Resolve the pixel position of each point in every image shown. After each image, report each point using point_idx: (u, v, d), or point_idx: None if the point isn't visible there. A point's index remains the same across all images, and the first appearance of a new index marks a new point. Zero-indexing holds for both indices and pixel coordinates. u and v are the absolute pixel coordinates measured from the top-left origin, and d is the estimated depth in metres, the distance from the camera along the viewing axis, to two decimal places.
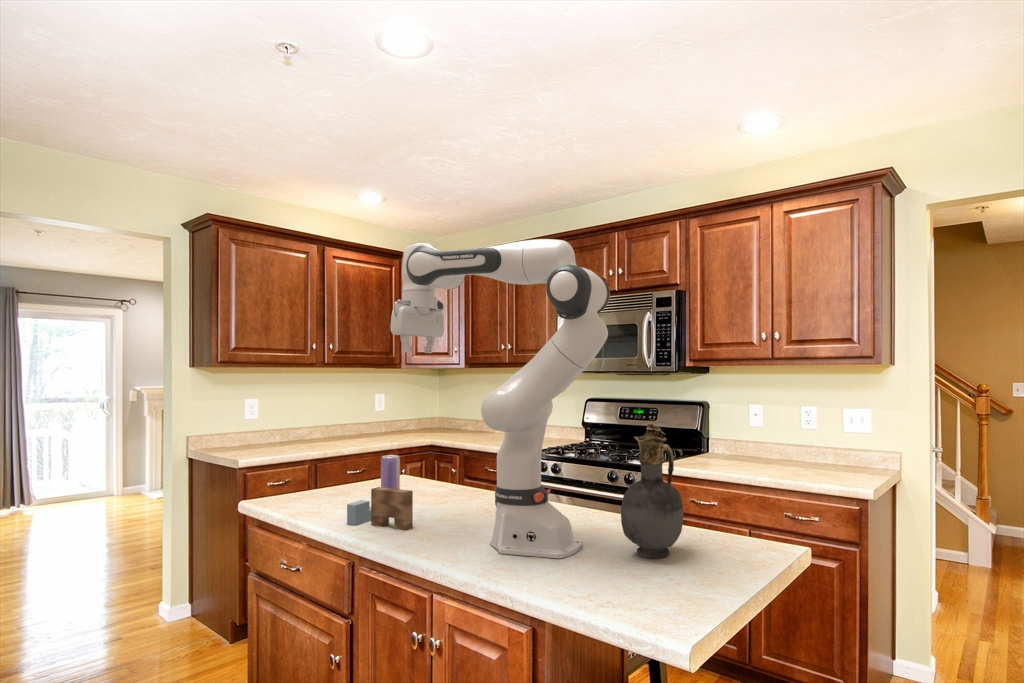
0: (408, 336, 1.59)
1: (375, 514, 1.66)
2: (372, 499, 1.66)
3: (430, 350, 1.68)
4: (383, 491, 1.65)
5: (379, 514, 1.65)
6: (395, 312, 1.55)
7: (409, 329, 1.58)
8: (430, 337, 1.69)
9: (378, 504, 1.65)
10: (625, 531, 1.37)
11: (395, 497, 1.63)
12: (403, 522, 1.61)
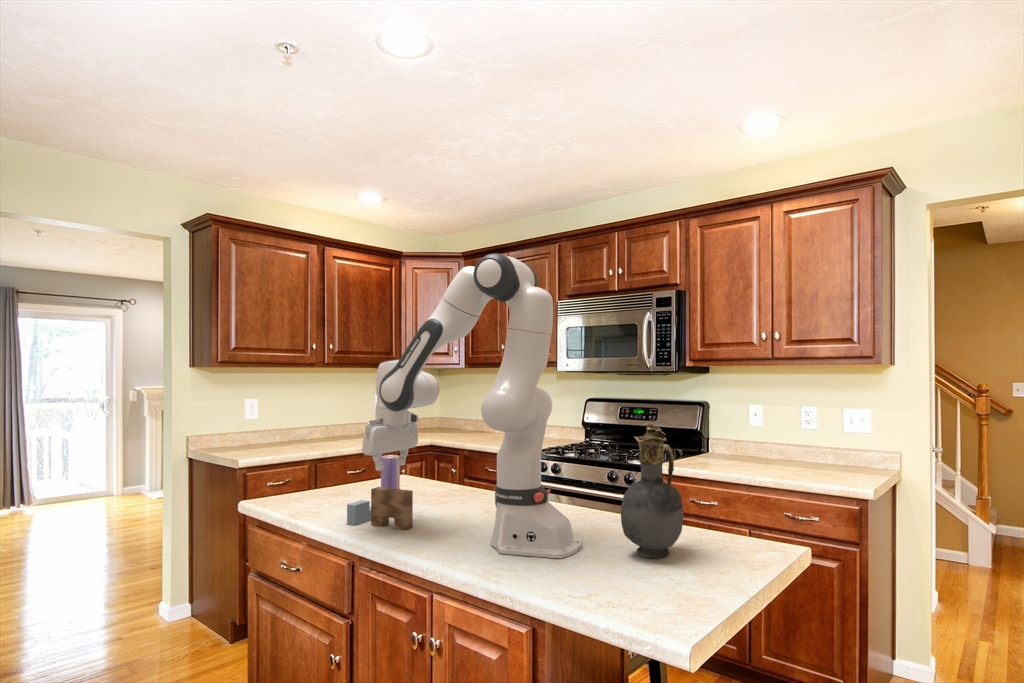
0: (380, 455, 1.60)
1: (375, 514, 1.66)
2: (372, 499, 1.66)
3: (403, 463, 1.69)
4: (383, 491, 1.65)
5: (379, 514, 1.65)
6: (367, 434, 1.57)
7: (381, 449, 1.59)
8: (403, 449, 1.70)
9: (378, 504, 1.65)
10: (625, 531, 1.37)
11: (395, 497, 1.63)
12: (403, 522, 1.61)
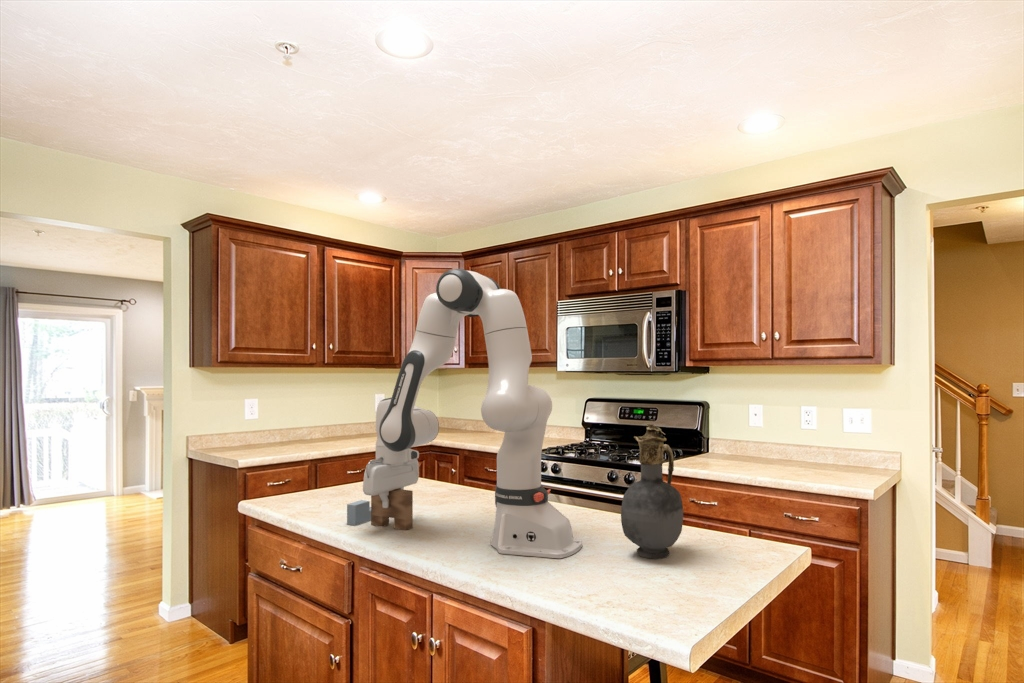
0: (387, 493, 1.62)
1: (375, 514, 1.66)
2: (372, 499, 1.66)
3: None
4: None
5: (379, 514, 1.65)
6: (367, 474, 1.56)
7: (381, 489, 1.59)
8: (399, 488, 1.67)
9: (378, 504, 1.65)
10: (625, 531, 1.37)
11: (395, 497, 1.63)
12: (403, 522, 1.61)
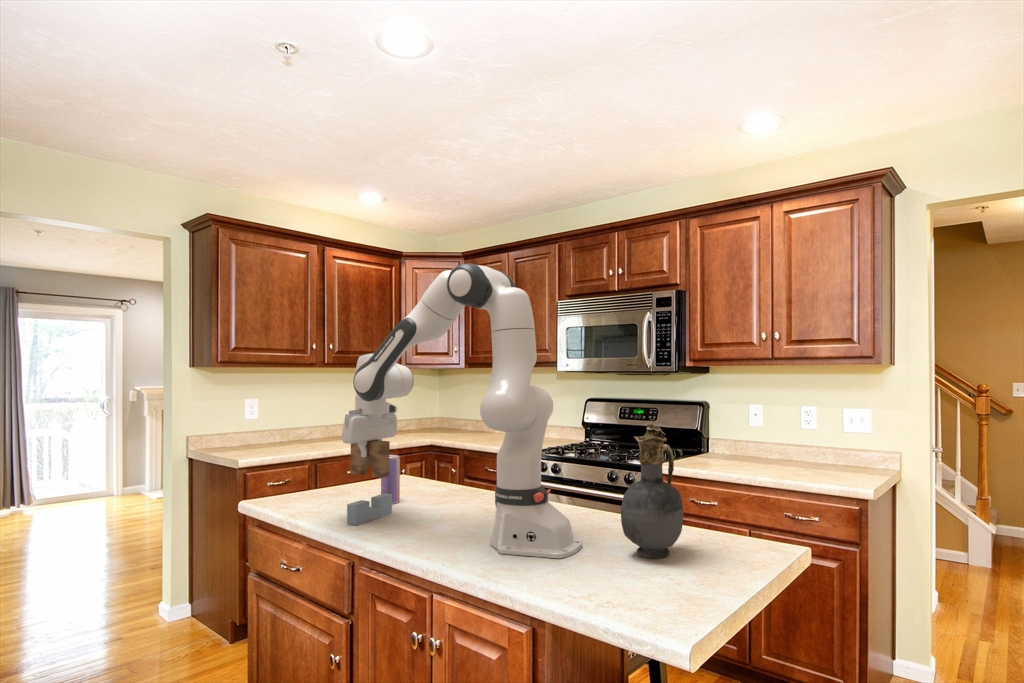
0: (365, 442, 1.71)
1: (354, 463, 1.75)
2: (352, 449, 1.76)
3: None
4: None
5: (358, 463, 1.74)
6: (346, 423, 1.66)
7: (359, 438, 1.68)
8: (377, 439, 1.77)
9: (357, 454, 1.75)
10: (625, 531, 1.37)
11: (373, 447, 1.72)
12: (379, 470, 1.71)
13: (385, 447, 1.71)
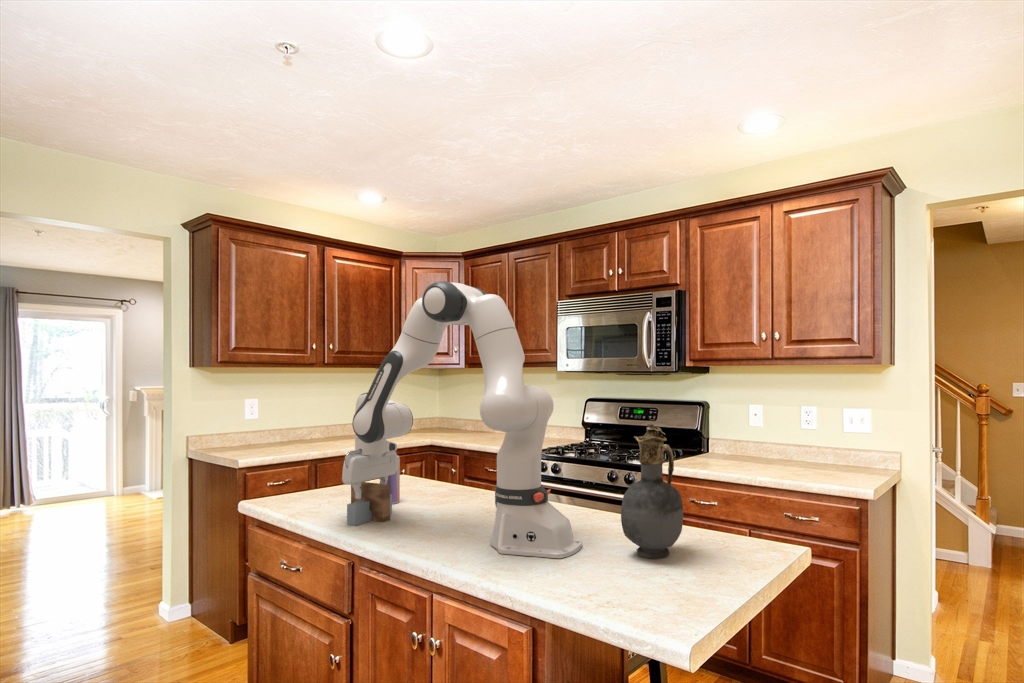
0: (359, 484, 1.68)
1: None
2: (352, 493, 1.75)
3: None
4: (362, 485, 1.73)
5: None
6: (346, 464, 1.65)
7: (360, 478, 1.67)
8: (383, 477, 1.78)
9: None
10: (625, 531, 1.37)
11: (373, 491, 1.71)
12: (380, 514, 1.70)
13: (386, 491, 1.71)
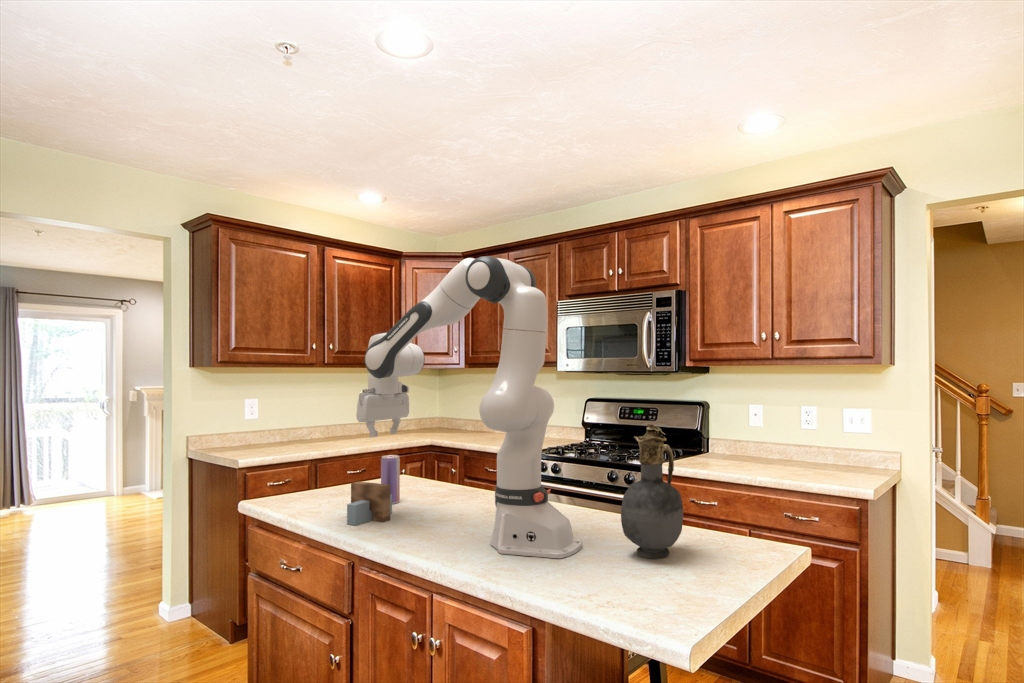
0: (373, 422, 1.70)
1: None
2: (352, 493, 1.75)
3: (396, 431, 1.79)
4: (362, 485, 1.73)
5: None
6: (360, 401, 1.67)
7: (374, 416, 1.69)
8: (396, 418, 1.80)
9: (358, 498, 1.74)
10: (625, 531, 1.37)
11: (373, 491, 1.71)
12: (380, 514, 1.70)
13: (386, 491, 1.71)
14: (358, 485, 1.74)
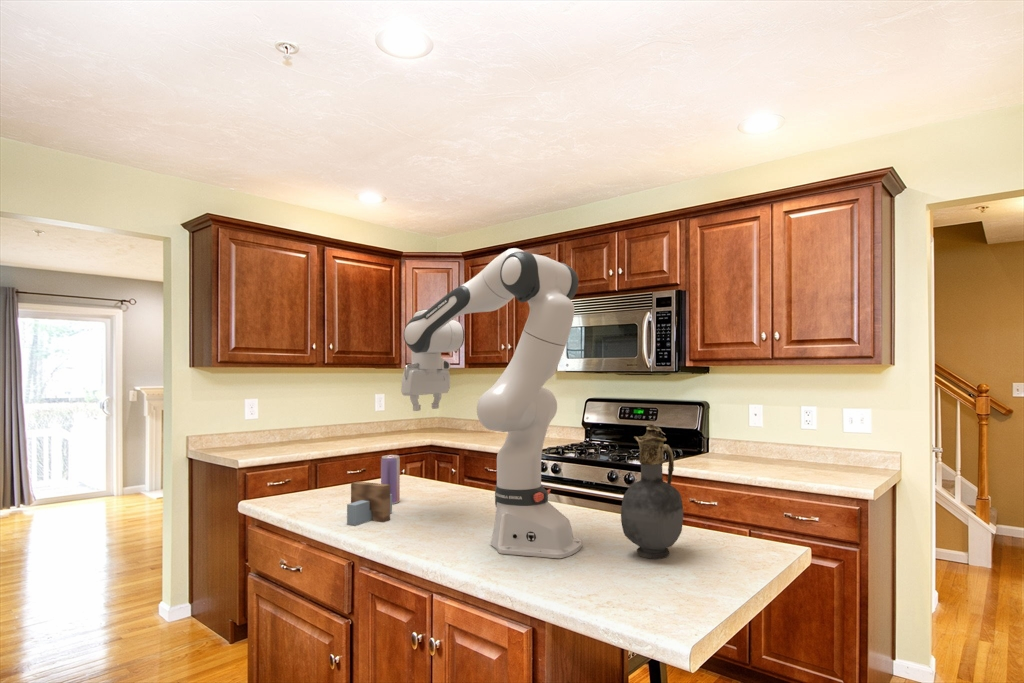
0: (417, 396, 1.74)
1: None
2: (352, 493, 1.75)
3: (437, 406, 1.83)
4: (362, 485, 1.73)
5: None
6: (405, 375, 1.70)
7: (418, 390, 1.73)
8: (437, 394, 1.84)
9: (358, 498, 1.74)
10: (625, 531, 1.37)
11: (373, 491, 1.71)
12: (380, 514, 1.70)
13: (386, 491, 1.71)
14: (358, 485, 1.74)
